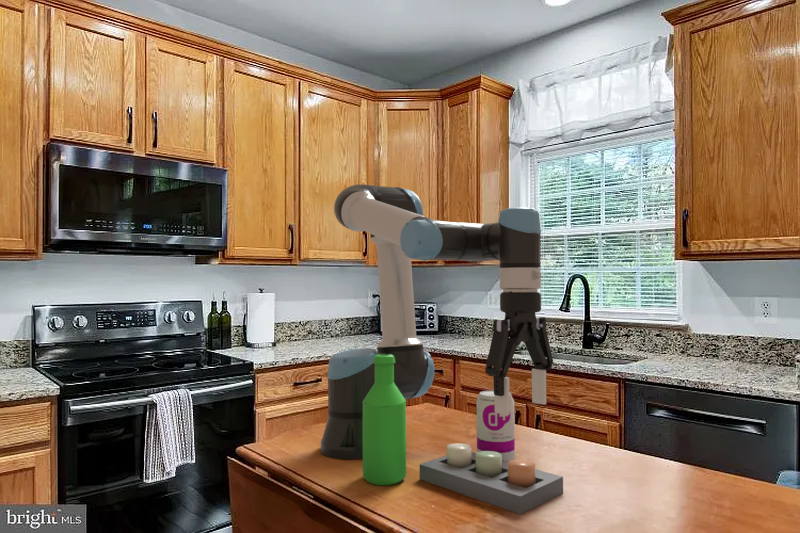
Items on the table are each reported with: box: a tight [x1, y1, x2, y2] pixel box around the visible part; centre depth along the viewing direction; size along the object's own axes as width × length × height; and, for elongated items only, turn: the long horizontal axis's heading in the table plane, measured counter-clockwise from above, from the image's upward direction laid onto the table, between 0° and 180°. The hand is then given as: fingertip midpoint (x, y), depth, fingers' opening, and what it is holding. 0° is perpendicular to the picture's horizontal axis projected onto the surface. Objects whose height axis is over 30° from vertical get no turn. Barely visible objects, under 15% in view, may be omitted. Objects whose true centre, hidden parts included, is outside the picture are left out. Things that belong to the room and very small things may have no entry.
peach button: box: [508, 458, 536, 487], centre depth 104 cm, size 5×5×4 cm
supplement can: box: [476, 390, 516, 462], centre depth 124 cm, size 8×8×15 cm
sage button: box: [475, 451, 502, 477], centre depth 110 cm, size 5×5×4 cm
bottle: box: [362, 354, 407, 486], centre depth 114 cm, size 9×9×25 cm
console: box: [419, 451, 564, 515], centre depth 110 cm, size 24×14×3 cm, turn 44°
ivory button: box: [446, 442, 473, 468], centre depth 115 cm, size 5×5×4 cm
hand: (521, 408), depth 105 cm, fingers open, 11 cm apart
